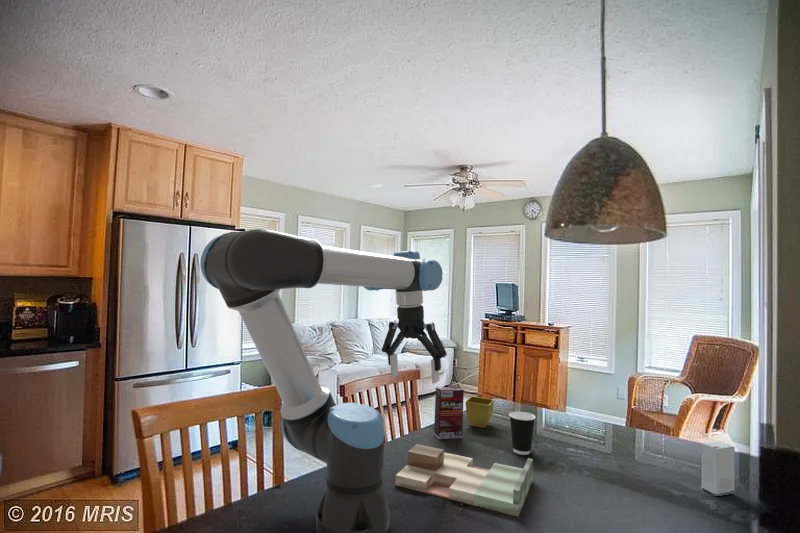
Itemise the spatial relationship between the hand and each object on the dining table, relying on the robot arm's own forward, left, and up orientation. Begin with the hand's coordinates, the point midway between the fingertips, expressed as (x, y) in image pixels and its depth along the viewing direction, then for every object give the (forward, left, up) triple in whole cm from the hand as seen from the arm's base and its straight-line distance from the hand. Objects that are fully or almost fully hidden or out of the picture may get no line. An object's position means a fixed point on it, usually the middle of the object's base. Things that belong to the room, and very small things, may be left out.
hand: (414, 379), depth 123 cm
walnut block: (-5, -6, -21) cm, 22 cm away
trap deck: (-5, -17, -23) cm, 29 cm away
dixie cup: (+24, -26, -23) cm, 42 cm away
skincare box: (+21, -75, -23) cm, 81 cm away
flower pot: (+42, -8, -23) cm, 49 cm away
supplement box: (+25, -2, -23) cm, 34 cm away
